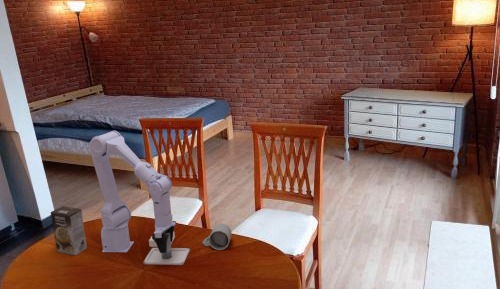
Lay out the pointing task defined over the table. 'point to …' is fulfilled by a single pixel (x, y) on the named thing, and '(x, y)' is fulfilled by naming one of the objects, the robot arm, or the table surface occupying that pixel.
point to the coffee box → (68, 230)
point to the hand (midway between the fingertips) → (166, 247)
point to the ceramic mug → (219, 237)
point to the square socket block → (153, 244)
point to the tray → (176, 259)
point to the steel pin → (168, 252)
